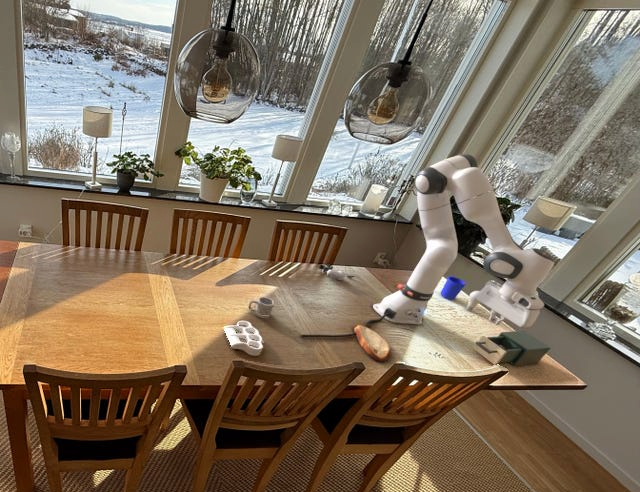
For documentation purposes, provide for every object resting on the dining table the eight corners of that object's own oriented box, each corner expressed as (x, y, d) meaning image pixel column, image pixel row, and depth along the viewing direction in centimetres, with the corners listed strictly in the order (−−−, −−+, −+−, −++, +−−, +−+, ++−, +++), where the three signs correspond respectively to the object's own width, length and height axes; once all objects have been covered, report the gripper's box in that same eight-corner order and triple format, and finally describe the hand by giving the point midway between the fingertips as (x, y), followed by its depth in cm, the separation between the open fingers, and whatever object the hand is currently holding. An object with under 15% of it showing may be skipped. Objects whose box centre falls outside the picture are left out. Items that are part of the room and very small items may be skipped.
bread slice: (357, 326, 175) (360, 319, 173) (398, 347, 165) (402, 340, 163) (338, 340, 164) (342, 333, 162) (381, 364, 154) (386, 357, 152)
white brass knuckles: (220, 326, 161) (253, 327, 164) (232, 356, 147) (269, 356, 150) (221, 320, 160) (255, 320, 162) (234, 349, 145) (272, 349, 148)
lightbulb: (477, 314, 198) (490, 296, 192) (464, 312, 199) (477, 293, 192) (471, 308, 203) (484, 290, 197) (459, 305, 204) (471, 287, 198)
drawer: (486, 365, 161) (496, 353, 157) (464, 349, 169) (473, 336, 165) (516, 362, 165) (527, 350, 162) (494, 346, 174) (503, 334, 170)
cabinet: (514, 365, 165) (527, 349, 160) (489, 347, 174) (501, 332, 169) (537, 363, 169) (551, 347, 164) (511, 345, 178) (524, 330, 173)
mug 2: (451, 292, 216) (461, 276, 210) (457, 302, 206) (468, 286, 201) (434, 288, 217) (444, 272, 212) (440, 298, 208) (450, 281, 202)
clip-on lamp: (341, 276, 221) (315, 269, 215) (346, 266, 219) (321, 258, 213) (354, 285, 211) (328, 278, 205) (360, 275, 209) (334, 267, 203)
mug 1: (269, 311, 176) (273, 298, 172) (270, 319, 171) (274, 306, 167) (246, 306, 177) (250, 294, 173) (247, 315, 171) (251, 302, 167)
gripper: (484, 278, 153) (464, 307, 161) (536, 308, 137) (511, 339, 145) (496, 277, 155) (476, 307, 162) (549, 307, 139) (524, 338, 146)
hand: (493, 322), depth 153 cm, fingers closed
